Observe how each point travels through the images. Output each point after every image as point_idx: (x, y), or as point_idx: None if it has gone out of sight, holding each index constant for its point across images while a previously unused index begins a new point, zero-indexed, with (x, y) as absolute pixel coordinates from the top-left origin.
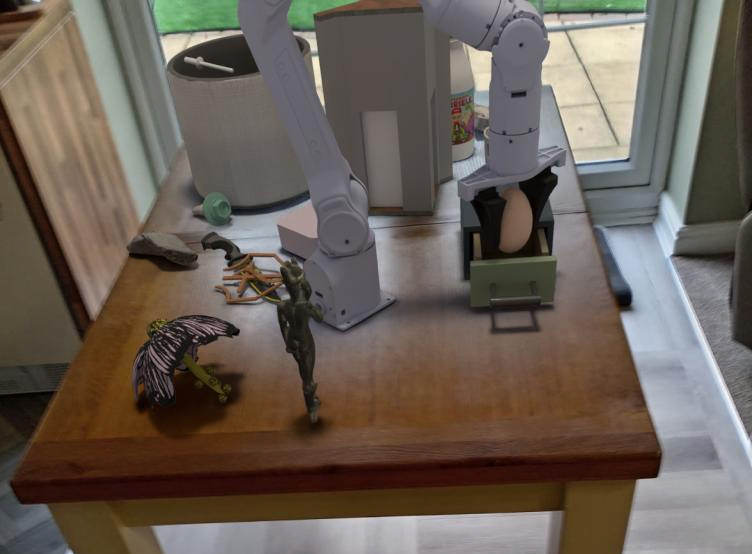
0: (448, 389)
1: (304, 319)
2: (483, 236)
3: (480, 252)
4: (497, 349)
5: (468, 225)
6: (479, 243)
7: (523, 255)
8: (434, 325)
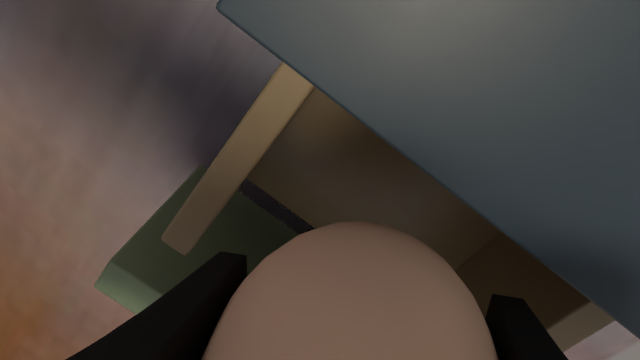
0: (12, 336)
1: None
2: (195, 270)
3: (198, 232)
4: None
5: (254, 23)
6: (250, 162)
7: None
8: (72, 142)
